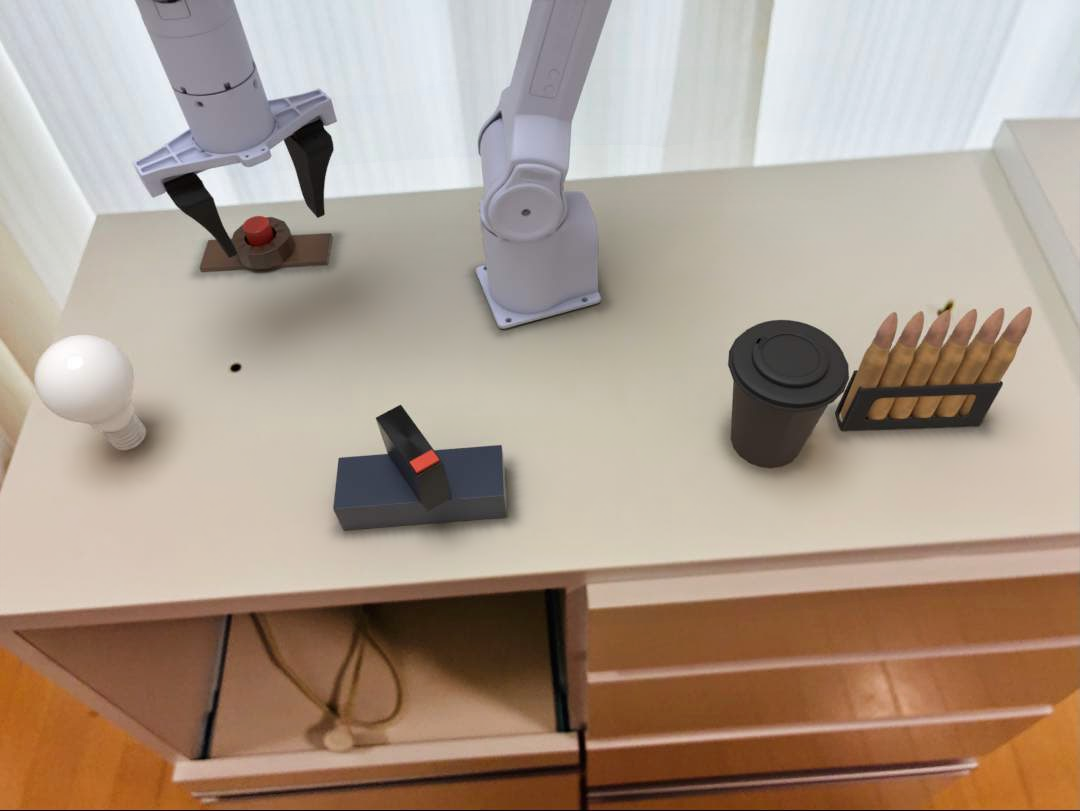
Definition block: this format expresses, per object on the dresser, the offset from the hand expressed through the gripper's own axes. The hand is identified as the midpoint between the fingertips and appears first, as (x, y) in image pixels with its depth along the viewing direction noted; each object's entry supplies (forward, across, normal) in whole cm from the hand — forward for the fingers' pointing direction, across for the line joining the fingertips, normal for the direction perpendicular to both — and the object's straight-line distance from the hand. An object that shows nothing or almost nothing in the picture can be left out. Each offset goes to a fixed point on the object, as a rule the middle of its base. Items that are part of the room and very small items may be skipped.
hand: (273, 229), depth 66 cm
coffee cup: (+10, +22, -35) cm, 42 cm away
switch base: (+10, -1, -23) cm, 25 cm away
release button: (+8, +1, +9) cm, 12 cm away
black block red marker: (+7, -1, -23) cm, 24 cm away
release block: (+10, +1, +9) cm, 13 cm away
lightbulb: (+10, -17, -4) cm, 20 cm away
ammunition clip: (+10, +32, -40) cm, 52 cm away
